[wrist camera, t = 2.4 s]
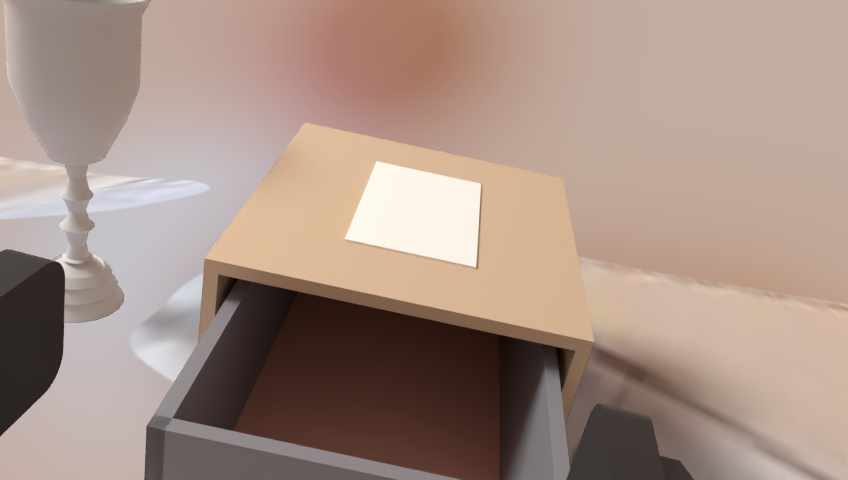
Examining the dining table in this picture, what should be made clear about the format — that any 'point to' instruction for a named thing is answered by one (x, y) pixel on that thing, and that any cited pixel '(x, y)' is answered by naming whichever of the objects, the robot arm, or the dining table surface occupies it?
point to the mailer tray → (356, 398)
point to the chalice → (76, 113)
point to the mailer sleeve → (412, 241)
